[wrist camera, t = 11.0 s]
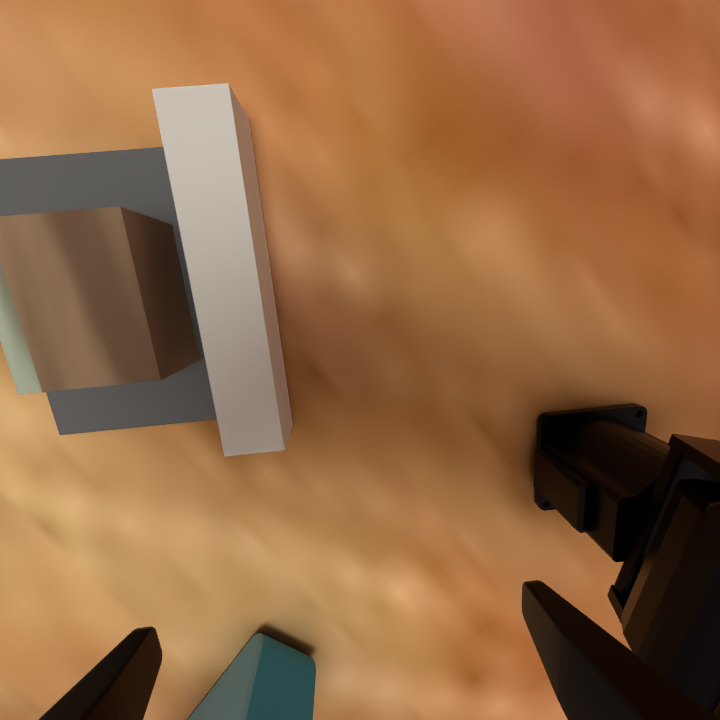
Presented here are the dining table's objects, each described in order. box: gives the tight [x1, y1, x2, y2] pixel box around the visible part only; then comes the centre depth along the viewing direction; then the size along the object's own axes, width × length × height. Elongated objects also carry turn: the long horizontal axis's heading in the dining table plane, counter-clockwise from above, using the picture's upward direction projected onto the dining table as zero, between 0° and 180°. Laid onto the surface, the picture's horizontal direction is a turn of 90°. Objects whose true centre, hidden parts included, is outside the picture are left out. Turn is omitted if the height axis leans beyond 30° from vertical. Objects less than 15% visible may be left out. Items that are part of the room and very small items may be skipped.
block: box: [0, 207, 200, 395], centre depth 15 cm, size 4×7×6 cm
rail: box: [152, 83, 293, 457], centre depth 16 cm, size 3×16×3 cm, turn 5°
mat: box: [0, 147, 217, 435], centre depth 17 cm, size 10×14×1 cm
